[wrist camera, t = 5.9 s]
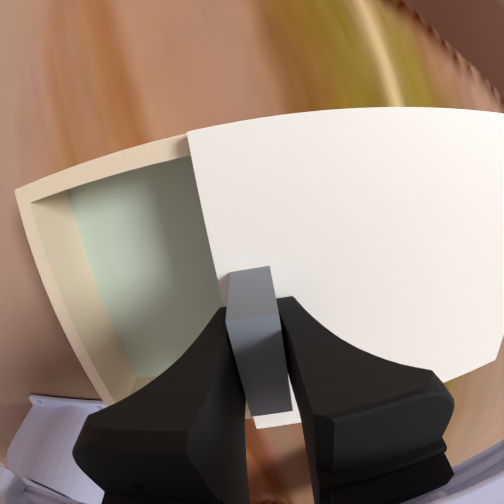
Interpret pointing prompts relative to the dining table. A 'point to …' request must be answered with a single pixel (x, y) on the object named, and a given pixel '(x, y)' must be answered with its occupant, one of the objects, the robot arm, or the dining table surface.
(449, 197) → the lid
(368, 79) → the dining table surface
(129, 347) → the beige open box
